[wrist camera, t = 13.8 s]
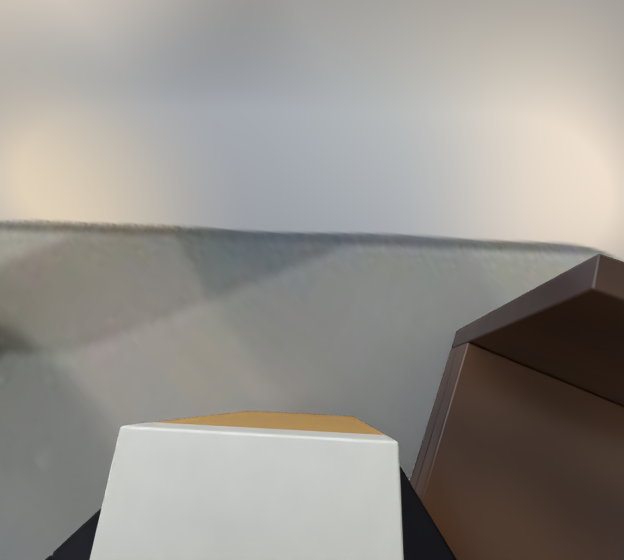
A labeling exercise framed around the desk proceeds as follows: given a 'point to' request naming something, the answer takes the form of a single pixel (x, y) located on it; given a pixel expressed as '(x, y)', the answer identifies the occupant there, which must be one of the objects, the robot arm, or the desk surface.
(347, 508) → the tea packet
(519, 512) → the shelf
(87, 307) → the desk surface
